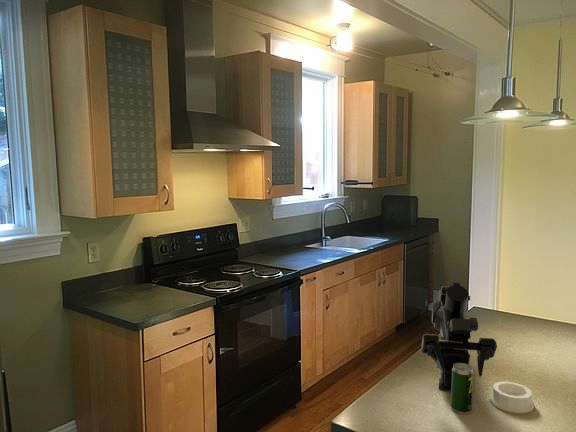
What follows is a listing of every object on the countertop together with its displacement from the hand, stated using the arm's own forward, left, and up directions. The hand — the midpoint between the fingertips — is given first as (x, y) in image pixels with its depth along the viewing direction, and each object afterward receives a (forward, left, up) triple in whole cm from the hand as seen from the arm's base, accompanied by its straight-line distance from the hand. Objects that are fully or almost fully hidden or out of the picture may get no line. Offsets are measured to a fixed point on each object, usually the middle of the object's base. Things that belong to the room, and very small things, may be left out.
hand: (461, 374), depth 123 cm
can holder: (-12, +13, -12) cm, 21 cm away
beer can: (-4, 0, -12) cm, 12 cm away
